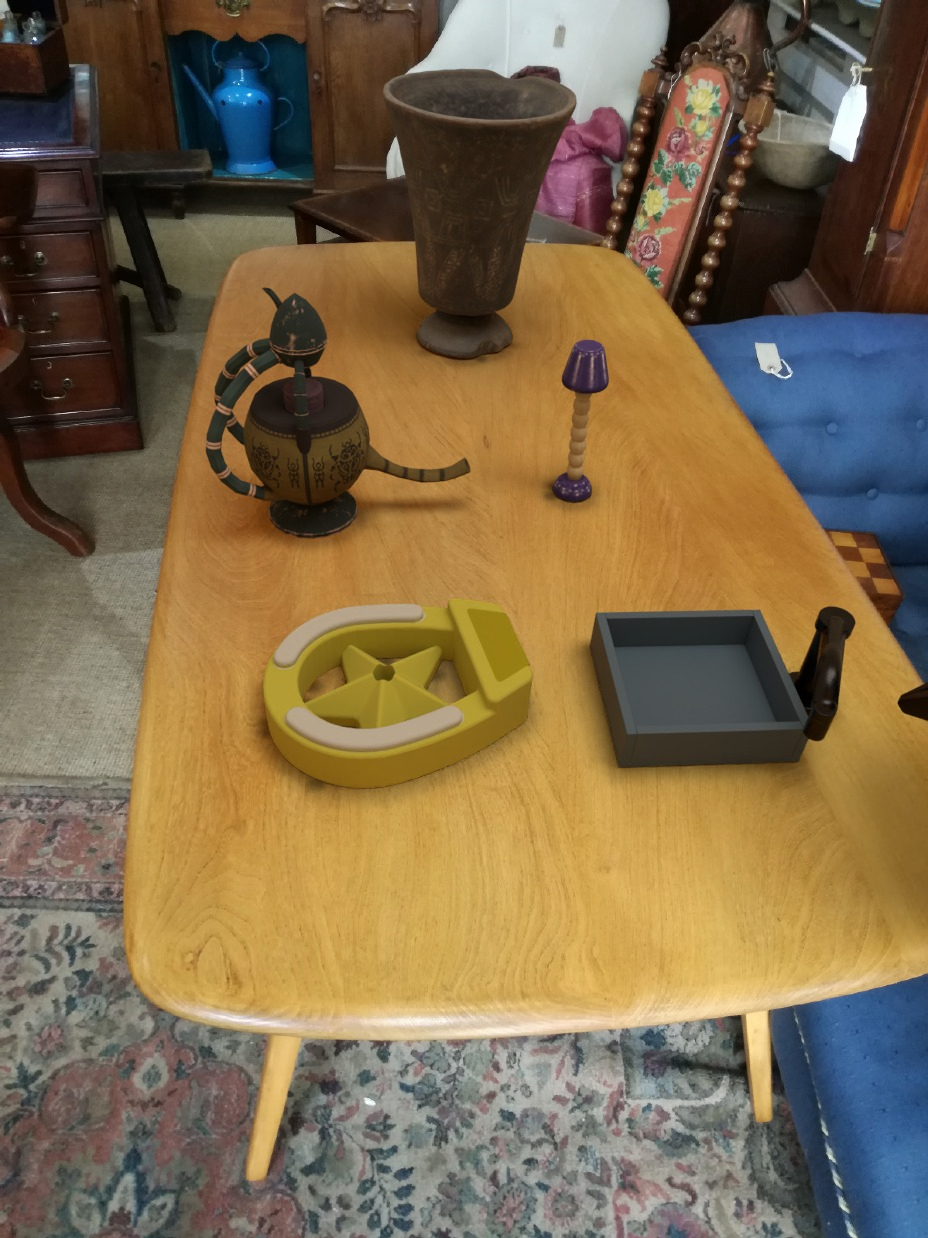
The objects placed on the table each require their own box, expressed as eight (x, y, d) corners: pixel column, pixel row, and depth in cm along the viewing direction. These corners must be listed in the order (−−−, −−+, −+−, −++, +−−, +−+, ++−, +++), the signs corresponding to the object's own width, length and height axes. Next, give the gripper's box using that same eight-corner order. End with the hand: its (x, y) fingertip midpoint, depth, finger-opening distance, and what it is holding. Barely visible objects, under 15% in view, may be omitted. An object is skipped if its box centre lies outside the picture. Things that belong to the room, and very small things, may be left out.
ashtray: (545, 753, 74) (552, 711, 70) (282, 807, 69) (276, 765, 66) (484, 616, 85) (487, 574, 82) (255, 654, 81) (248, 612, 77)
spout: (809, 629, 77) (821, 599, 74) (844, 638, 76) (858, 608, 74) (793, 735, 68) (806, 705, 66) (832, 746, 67) (847, 716, 65)
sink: (748, 642, 84) (760, 609, 81) (798, 762, 74) (813, 728, 72) (589, 646, 83) (595, 612, 80) (618, 767, 73) (627, 734, 70)
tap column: (829, 685, 81) (859, 619, 75) (829, 722, 78) (860, 656, 72) (777, 674, 81) (803, 608, 76) (775, 710, 78) (802, 644, 73)
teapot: (229, 480, 99) (195, 264, 84) (462, 473, 102) (472, 263, 86) (220, 551, 91) (180, 325, 75) (475, 542, 93) (488, 321, 77)
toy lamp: (541, 493, 100) (558, 348, 89) (558, 472, 103) (577, 329, 92) (582, 506, 98) (605, 361, 87) (598, 485, 102) (622, 342, 90)
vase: (352, 336, 125) (342, 84, 104) (461, 290, 137) (471, 56, 116) (475, 396, 114) (490, 130, 94) (580, 341, 126) (614, 94, 106)
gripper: (1126, 480, 59) (890, 547, 71) (1070, 642, 48) (800, 689, 60) (1193, 624, 61) (954, 665, 73) (1155, 812, 50) (879, 824, 62)
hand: (900, 704), depth 67 cm, fingers closed
